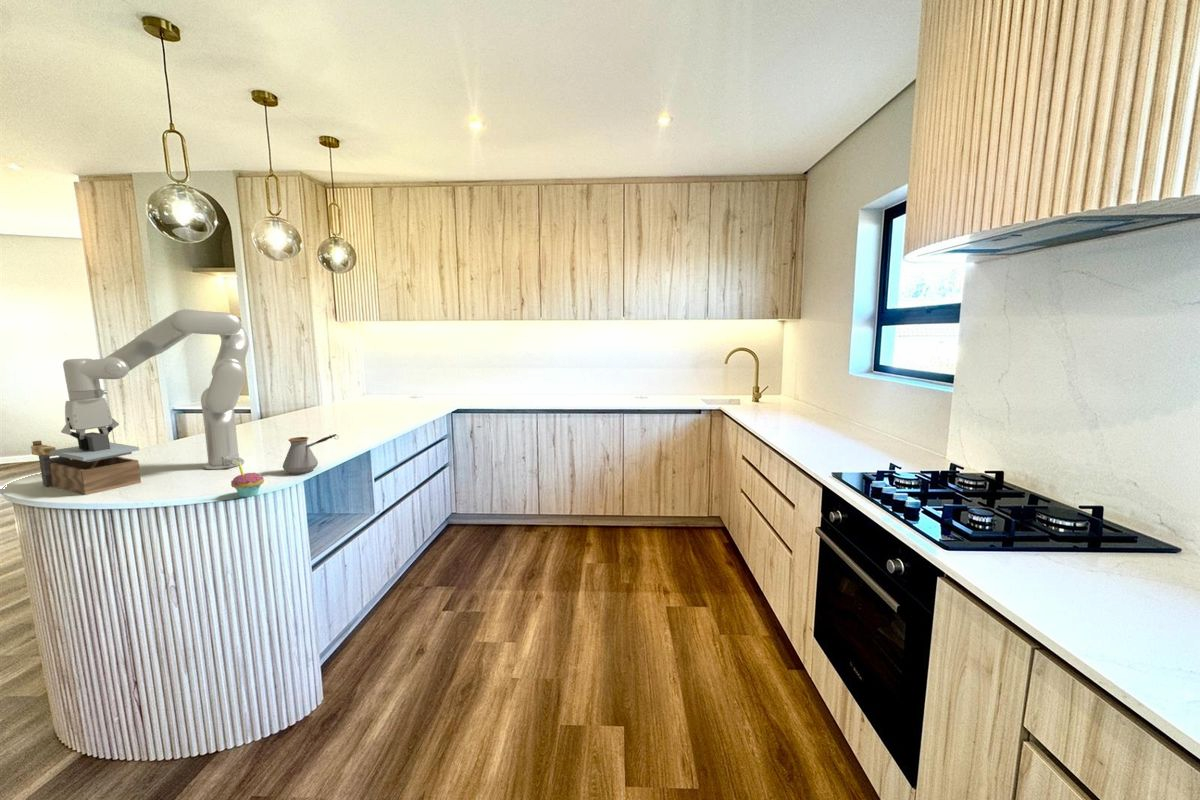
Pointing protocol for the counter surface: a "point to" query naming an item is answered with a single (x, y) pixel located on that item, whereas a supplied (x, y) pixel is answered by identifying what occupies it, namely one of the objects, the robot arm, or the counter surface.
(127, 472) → the chest
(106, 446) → the lid
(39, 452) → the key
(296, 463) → the coffee pot
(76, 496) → the counter surface
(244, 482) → the cupcake
